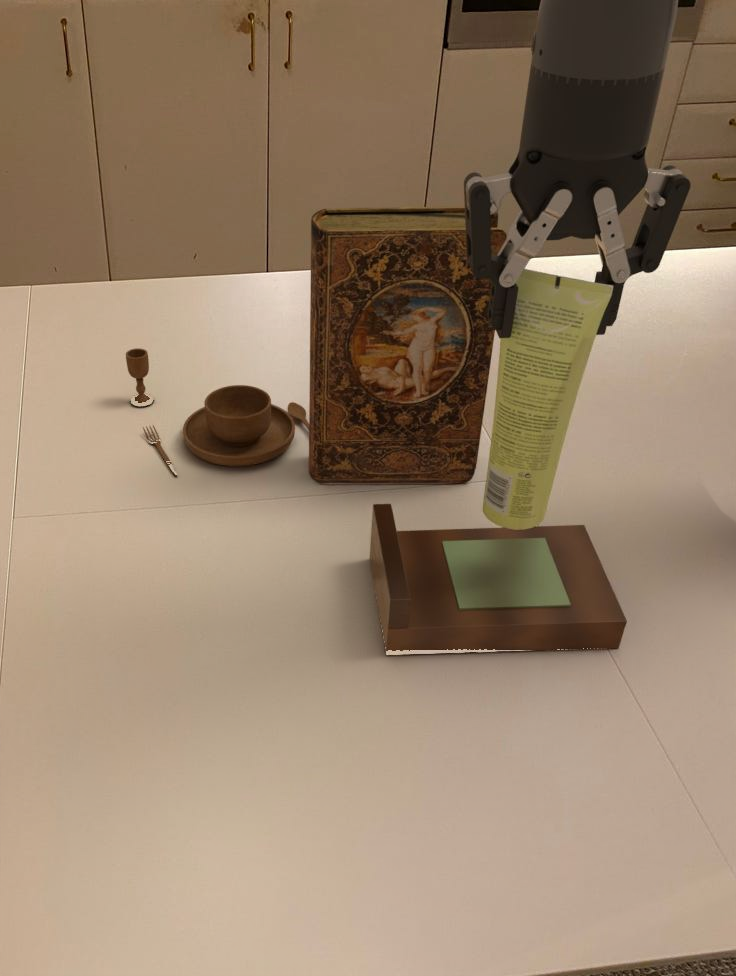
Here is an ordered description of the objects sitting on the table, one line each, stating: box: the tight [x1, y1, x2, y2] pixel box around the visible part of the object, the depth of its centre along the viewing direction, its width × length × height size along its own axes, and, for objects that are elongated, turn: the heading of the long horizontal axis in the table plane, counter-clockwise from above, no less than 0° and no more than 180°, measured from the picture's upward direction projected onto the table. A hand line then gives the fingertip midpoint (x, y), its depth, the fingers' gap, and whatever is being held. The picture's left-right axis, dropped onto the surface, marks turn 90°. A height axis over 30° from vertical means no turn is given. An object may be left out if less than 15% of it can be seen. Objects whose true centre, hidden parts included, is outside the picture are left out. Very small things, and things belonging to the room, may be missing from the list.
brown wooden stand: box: [369, 503, 628, 651], centre depth 83 cm, size 19×13×6 cm
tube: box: [482, 268, 613, 530], centre depth 72 cm, size 6×5×20 cm
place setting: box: [125, 348, 309, 467], centre depth 106 cm, size 18×20×6 cm
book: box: [308, 205, 508, 485], centre depth 92 cm, size 16×6×25 cm, turn 88°
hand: (549, 330), depth 68 cm, fingers closed on tube, 6 cm apart
